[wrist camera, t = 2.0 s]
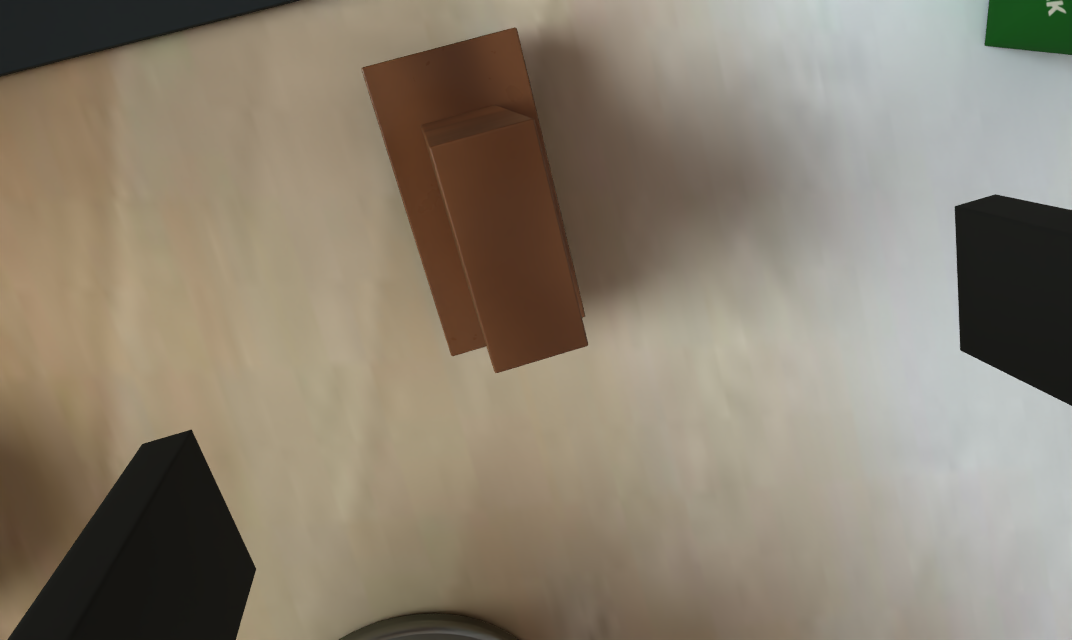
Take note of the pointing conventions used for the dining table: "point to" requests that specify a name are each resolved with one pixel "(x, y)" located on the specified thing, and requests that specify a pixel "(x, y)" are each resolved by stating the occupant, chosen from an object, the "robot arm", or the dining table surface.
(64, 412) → the dining table surface
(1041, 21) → the milk carton
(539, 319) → the scrub brush
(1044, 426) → the dining table surface
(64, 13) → the mat
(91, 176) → the dining table surface
